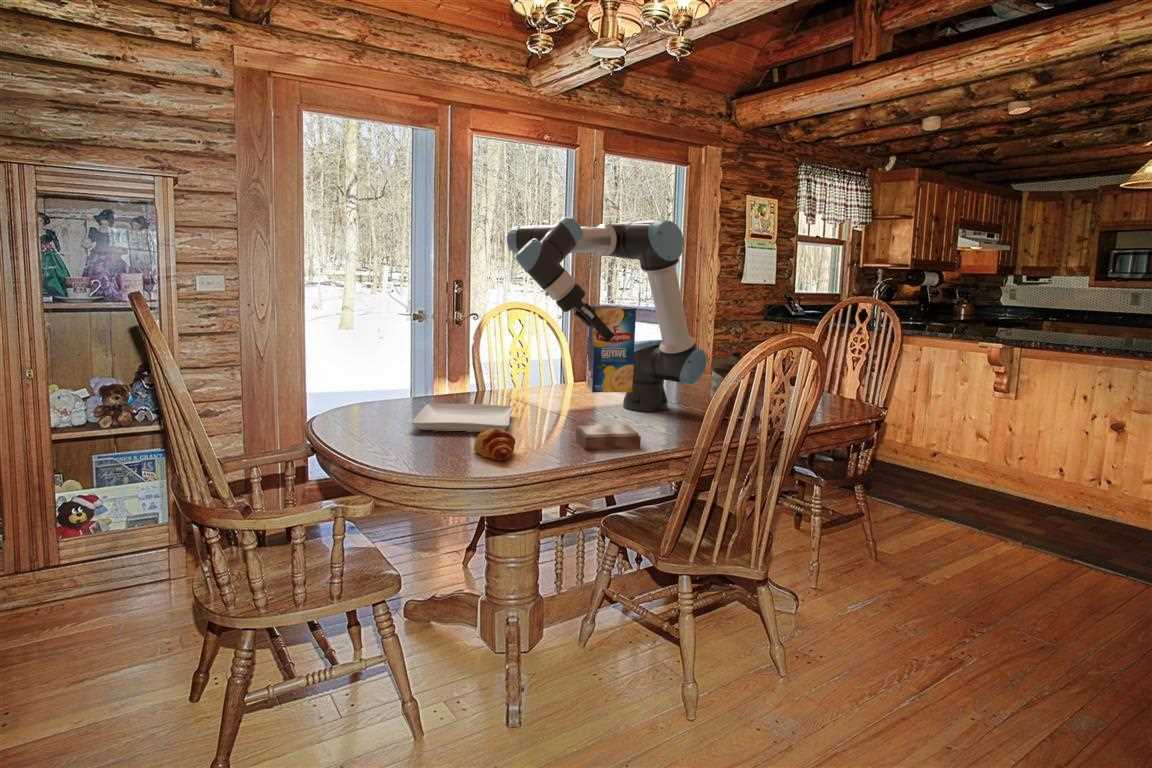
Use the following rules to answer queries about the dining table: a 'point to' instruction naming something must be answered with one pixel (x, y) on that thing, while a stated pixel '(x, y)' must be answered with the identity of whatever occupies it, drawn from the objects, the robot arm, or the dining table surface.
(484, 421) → the square plate
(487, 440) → the croissant
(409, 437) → the dining table surface
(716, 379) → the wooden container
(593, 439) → the base block
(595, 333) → the beverage box
